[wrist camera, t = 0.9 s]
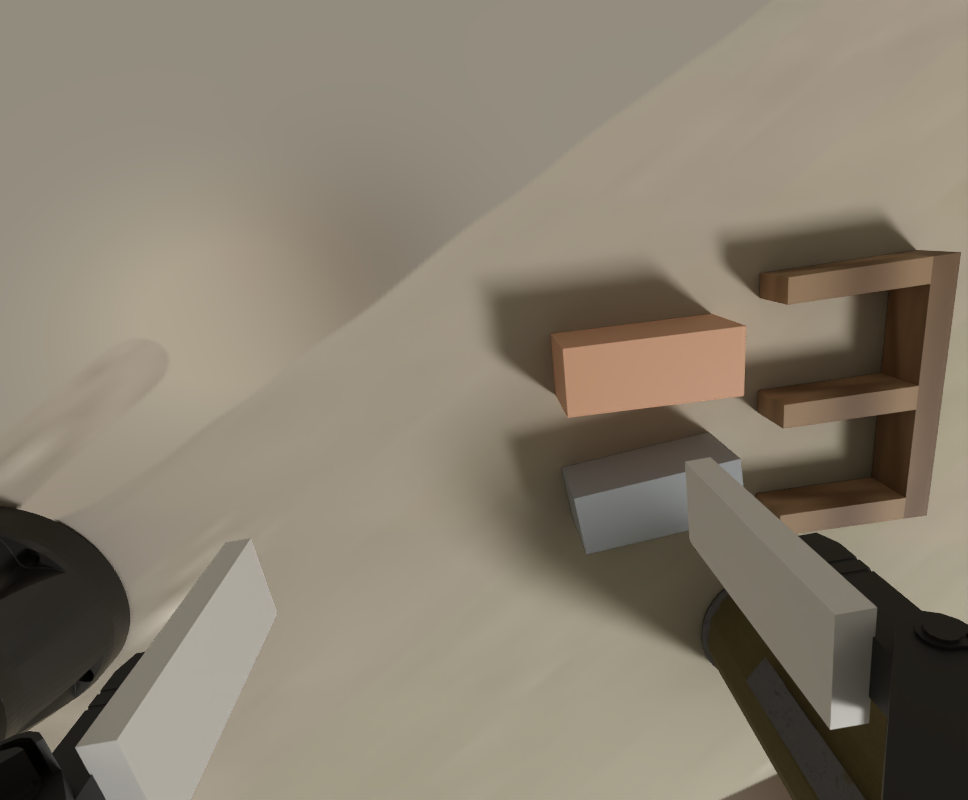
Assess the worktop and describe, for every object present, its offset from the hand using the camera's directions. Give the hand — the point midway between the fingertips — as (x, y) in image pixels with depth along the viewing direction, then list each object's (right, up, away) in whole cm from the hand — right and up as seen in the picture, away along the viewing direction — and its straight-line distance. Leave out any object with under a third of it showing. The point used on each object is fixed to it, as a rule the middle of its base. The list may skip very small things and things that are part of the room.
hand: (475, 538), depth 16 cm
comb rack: (+22, +5, +19) cm, 29 cm away
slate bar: (+11, -1, +20) cm, 23 cm away
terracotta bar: (+10, +7, +18) cm, 21 cm away
